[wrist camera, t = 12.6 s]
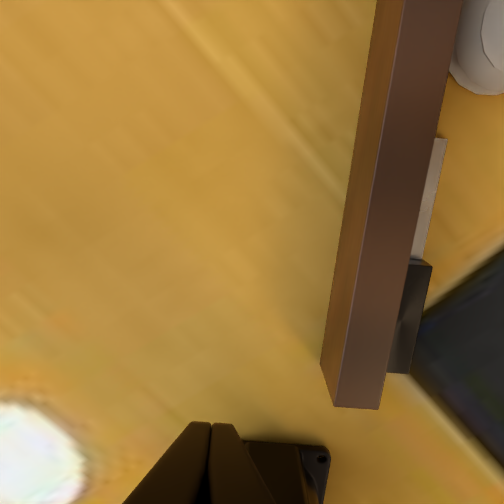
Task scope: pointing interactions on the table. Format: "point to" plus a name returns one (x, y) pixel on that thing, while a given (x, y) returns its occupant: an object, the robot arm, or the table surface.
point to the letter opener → (416, 273)
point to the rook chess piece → (480, 47)
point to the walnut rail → (385, 192)
